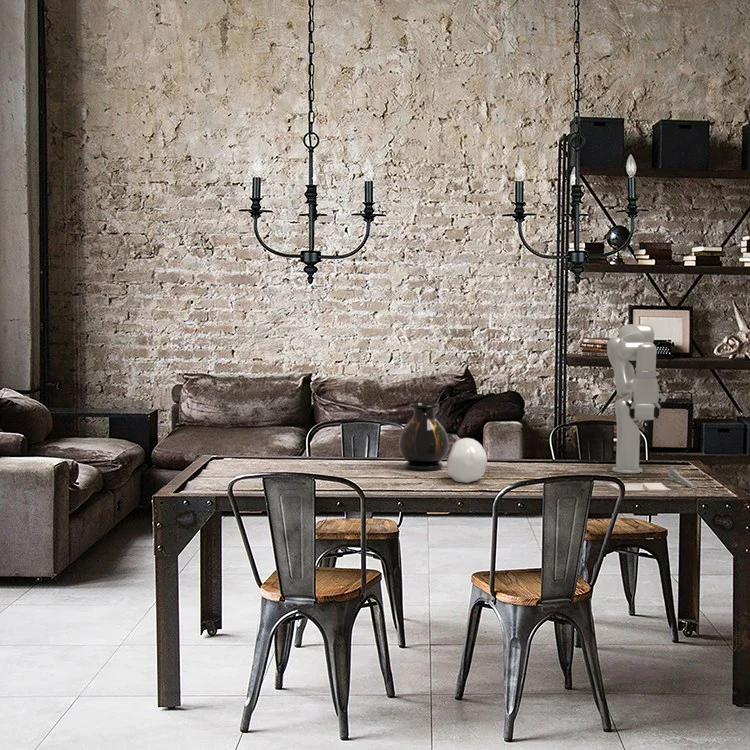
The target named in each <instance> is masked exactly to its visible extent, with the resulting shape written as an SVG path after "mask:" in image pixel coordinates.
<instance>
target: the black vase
mask: <svg viewBox="0 0 750 750" xmlns="http://www.w3.org/2000/svg"><path fill="white" fill-rule="evenodd" d="M408 406H409V408H411V409H412V410H413V416H412V418H411V419H410V420H409V421H408V422H407V424H406V425H405V426H404V427H403V429H402V430H401V432H400V436H399V440H398V449H399V453H400V455H401V456H402V457H403V459H404V460H405V461H406V462H405V463H404V468H406V469H408V470H411V471H417V472H418V471H419V472H421V471H422V472H424V471H425V472H427V471H428V472H429V471H430V472H431V471H438V470H440V469H442V468H443V465H444V464H443V463H442V461H443V460H444V458H446V455H447V454H448V452H449V448H450V447H449V445H450V443H449V437H448V434H447V431H446V429H445V428H444V426H443V425H442V424H441V422H439V420H438V419H437V417H436V416H435V409H438V408H439V407H440V405H439V404H438V403H433V402H413V403H410V404H408Z"/></svg>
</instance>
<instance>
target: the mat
mask: <svg viewBox="0 0 750 750" xmlns="http://www.w3.org/2000/svg"><path fill="white" fill-rule="evenodd" d="M623 483H624V485H625V492H626V491H646V490H645V489H644V488H643V483H644V482H626V483H625V482H623ZM608 485H610V486H612V487H613V488H615V489H617V490H619V487H618V485H617V484H616V483H608ZM665 487H666V486H665ZM666 488H667V489H668V491H672V489H671V488H668V487H666Z"/></svg>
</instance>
